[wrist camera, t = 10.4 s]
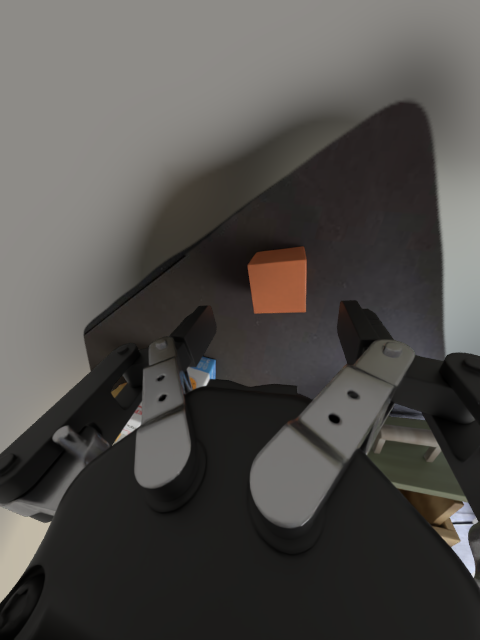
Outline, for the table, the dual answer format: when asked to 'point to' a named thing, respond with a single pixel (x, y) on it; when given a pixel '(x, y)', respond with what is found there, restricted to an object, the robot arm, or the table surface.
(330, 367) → the table surface
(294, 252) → the block
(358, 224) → the table surface
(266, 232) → the table surface
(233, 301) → the table surface
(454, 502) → the drawer
